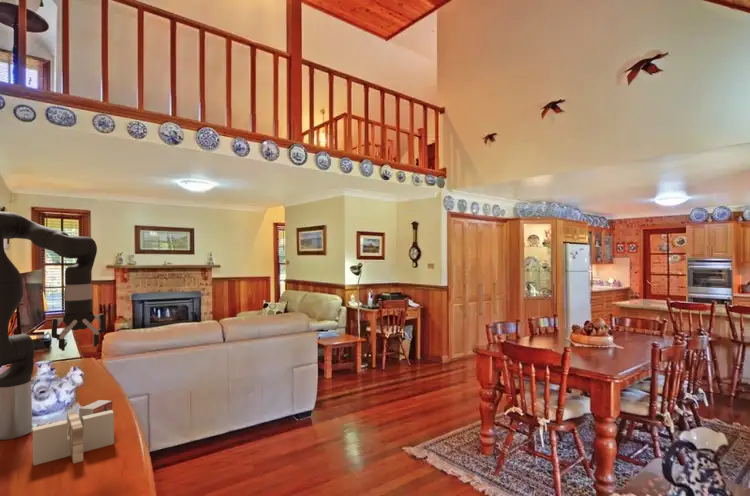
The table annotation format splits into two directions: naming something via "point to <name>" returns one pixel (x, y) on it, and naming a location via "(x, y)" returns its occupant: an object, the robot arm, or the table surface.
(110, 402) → the small box
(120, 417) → the table surface
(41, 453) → the notched board
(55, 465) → the table surface
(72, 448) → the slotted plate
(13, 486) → the table surface
